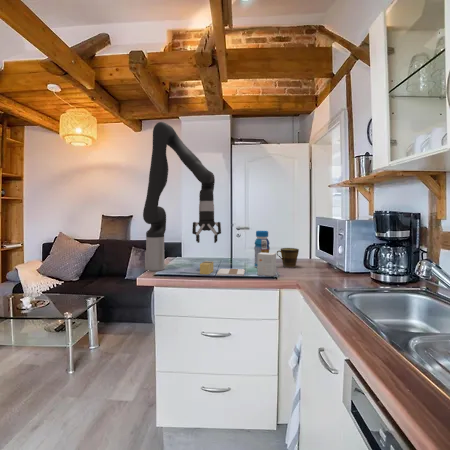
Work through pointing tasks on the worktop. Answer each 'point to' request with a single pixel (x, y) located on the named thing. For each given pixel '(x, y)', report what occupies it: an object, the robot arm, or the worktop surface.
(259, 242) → the teal labeled canister
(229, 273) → the floor panel
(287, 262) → the ceramic cup
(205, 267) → the block
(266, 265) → the small box
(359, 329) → the worktop surface
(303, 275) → the worktop surface
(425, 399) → the worktop surface
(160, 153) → the robot arm
